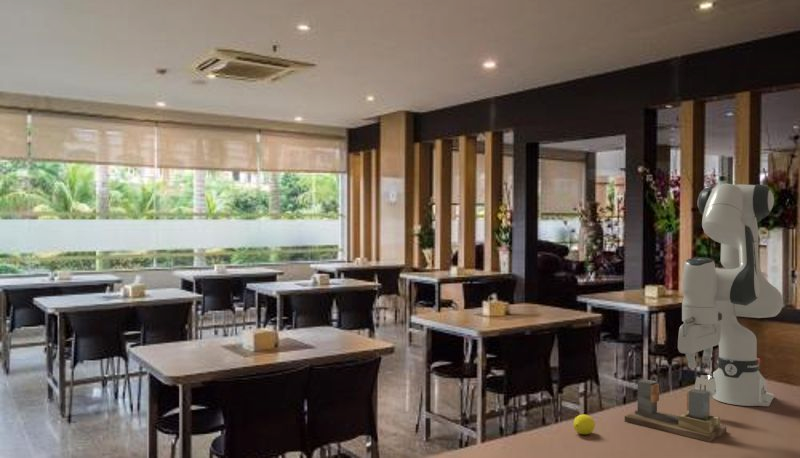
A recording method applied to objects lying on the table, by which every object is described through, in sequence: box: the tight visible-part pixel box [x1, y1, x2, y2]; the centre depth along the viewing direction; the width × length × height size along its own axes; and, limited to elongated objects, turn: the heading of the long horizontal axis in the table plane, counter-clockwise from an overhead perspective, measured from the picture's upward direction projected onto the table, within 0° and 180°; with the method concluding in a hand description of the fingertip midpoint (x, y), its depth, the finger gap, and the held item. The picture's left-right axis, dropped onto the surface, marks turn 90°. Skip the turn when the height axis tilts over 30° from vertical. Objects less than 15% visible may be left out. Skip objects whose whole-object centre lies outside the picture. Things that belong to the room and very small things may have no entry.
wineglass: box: [694, 374, 716, 399], centre depth 189 cm, size 6×6×12 cm
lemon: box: [572, 414, 596, 435], centre depth 172 cm, size 7×5×5 cm
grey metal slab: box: [686, 388, 711, 421], centre depth 174 cm, size 5×4×9 cm
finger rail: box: [624, 378, 727, 443], centre depth 179 cm, size 12×24×12 cm, turn 42°
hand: (699, 365), depth 174 cm, fingers open, 8 cm apart
